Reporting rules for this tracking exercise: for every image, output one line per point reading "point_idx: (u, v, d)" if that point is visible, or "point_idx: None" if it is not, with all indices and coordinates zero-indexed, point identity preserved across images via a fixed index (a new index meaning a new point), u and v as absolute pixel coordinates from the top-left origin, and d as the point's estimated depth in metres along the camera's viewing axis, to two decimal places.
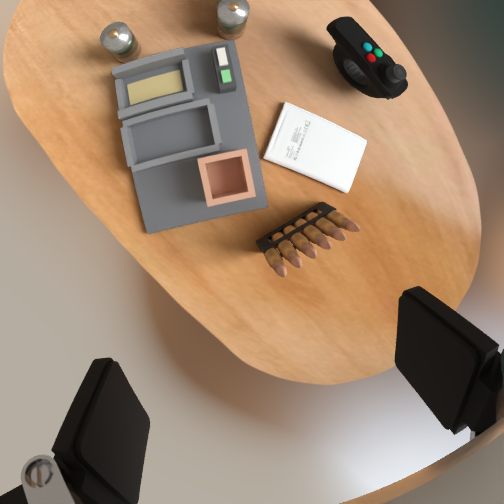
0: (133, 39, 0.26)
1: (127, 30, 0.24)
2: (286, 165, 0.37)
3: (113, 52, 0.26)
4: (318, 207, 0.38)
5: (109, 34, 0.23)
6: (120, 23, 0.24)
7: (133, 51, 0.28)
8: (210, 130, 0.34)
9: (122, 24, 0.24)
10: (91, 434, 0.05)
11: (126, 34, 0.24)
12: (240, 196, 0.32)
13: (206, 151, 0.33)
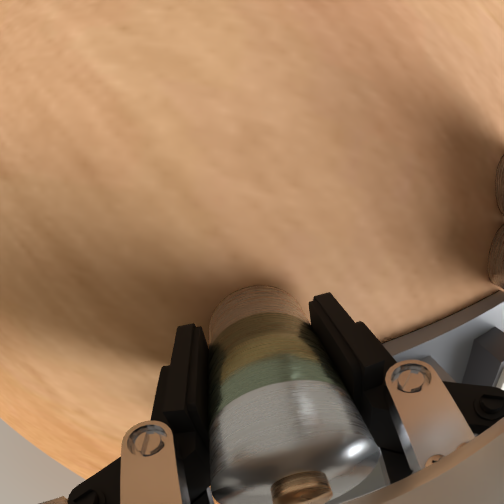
0: None
1: (373, 463, 0.05)
2: None
3: None
4: None
5: None
6: (342, 443, 0.04)
7: None
8: None
9: (353, 446, 0.04)
10: (199, 391, 0.06)
11: (364, 475, 0.05)
12: None
13: None
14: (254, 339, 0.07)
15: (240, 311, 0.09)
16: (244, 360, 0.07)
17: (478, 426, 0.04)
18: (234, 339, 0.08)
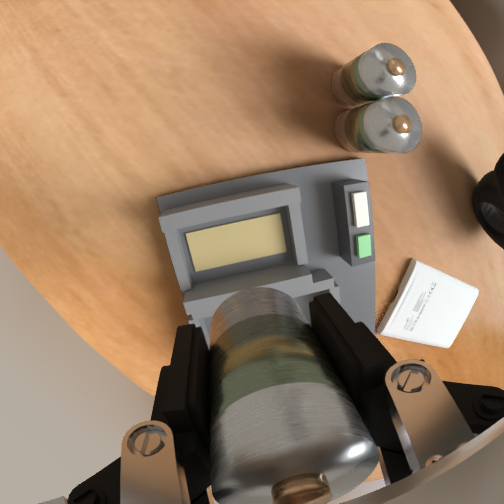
0: None
1: (372, 464, 0.05)
2: (401, 337, 0.27)
3: None
4: None
5: None
6: (342, 445, 0.04)
7: None
8: None
9: (353, 448, 0.04)
10: (198, 392, 0.06)
11: (363, 477, 0.05)
12: None
13: None
14: (254, 341, 0.07)
15: (240, 313, 0.09)
16: (245, 363, 0.07)
17: (478, 426, 0.04)
18: (234, 341, 0.08)
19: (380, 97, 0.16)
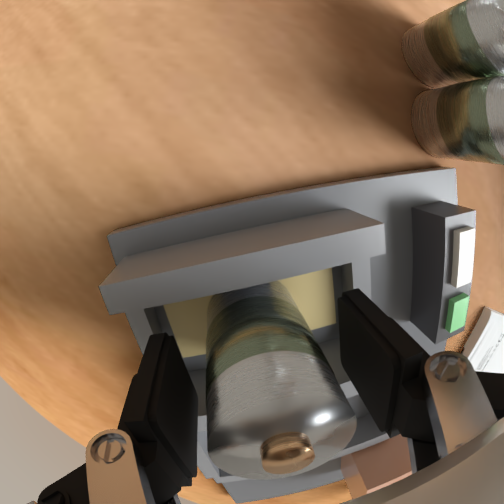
0: None
1: (351, 428, 0.06)
2: None
3: None
4: None
5: (271, 467, 0.05)
6: (319, 404, 0.05)
7: None
8: None
9: (330, 408, 0.06)
10: (162, 402, 0.06)
11: (345, 442, 0.06)
12: None
13: (369, 445, 0.14)
14: (245, 318, 0.08)
15: (234, 296, 0.10)
16: (237, 336, 0.08)
17: None
18: (228, 319, 0.09)
19: (498, 72, 0.07)
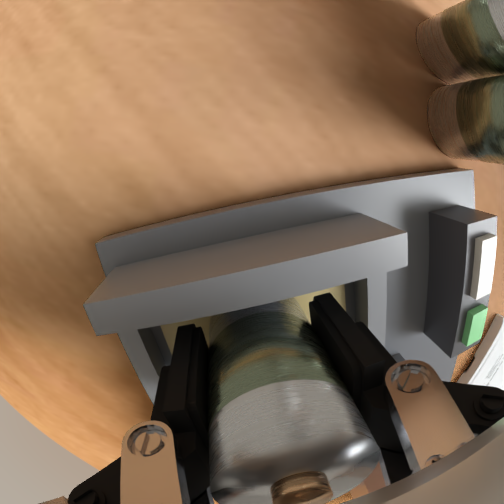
0: None
1: (374, 462, 0.05)
2: None
3: None
4: None
5: None
6: (341, 443, 0.04)
7: None
8: None
9: (353, 445, 0.04)
10: (199, 391, 0.06)
11: (365, 475, 0.05)
12: None
13: None
14: (252, 339, 0.07)
15: (238, 311, 0.09)
16: (242, 361, 0.07)
17: (478, 426, 0.04)
18: (232, 339, 0.08)
19: None
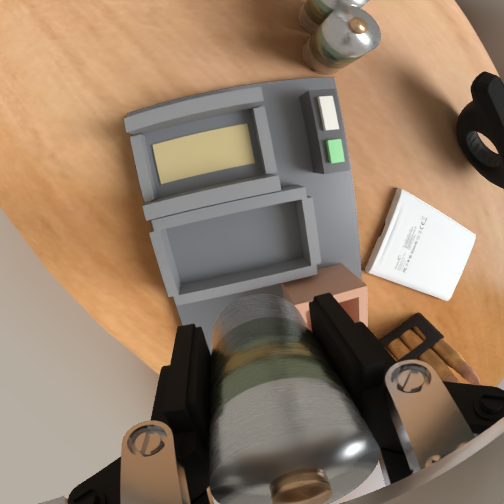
0: None
1: (373, 460, 0.05)
2: (393, 279, 0.26)
3: None
4: (416, 324, 0.27)
5: None
6: (339, 437, 0.04)
7: None
8: (297, 233, 0.23)
9: (351, 440, 0.04)
10: (198, 391, 0.06)
11: (365, 475, 0.05)
12: None
13: (297, 276, 0.22)
14: (253, 341, 0.07)
15: (240, 317, 0.09)
16: (243, 361, 0.07)
17: (478, 426, 0.04)
18: (234, 343, 0.08)
19: None
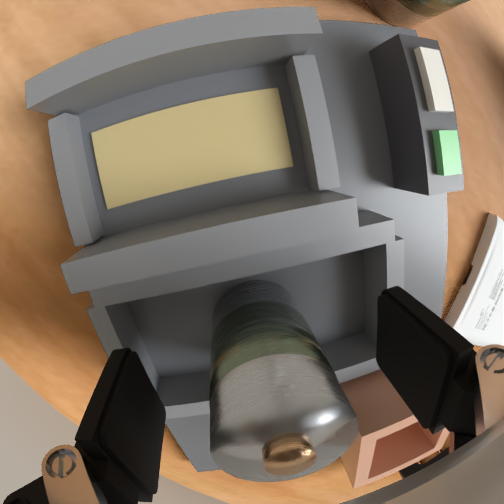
0: None
1: (353, 430, 0.06)
2: (470, 341, 0.15)
3: None
4: None
5: (273, 468, 0.05)
6: (320, 405, 0.05)
7: None
8: (361, 295, 0.12)
9: (331, 409, 0.06)
10: (115, 422, 0.06)
11: (347, 444, 0.06)
12: (418, 458, 0.11)
13: (360, 372, 0.11)
14: (249, 322, 0.09)
15: (238, 301, 0.10)
16: (240, 340, 0.08)
17: None
18: (232, 324, 0.09)
19: None
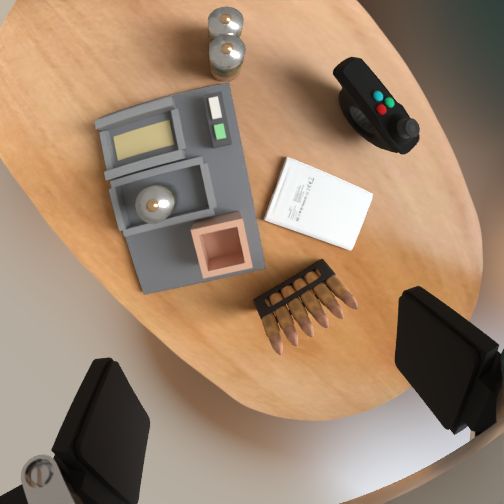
0: (175, 201, 0.29)
1: (169, 201, 0.27)
2: (288, 227, 0.36)
3: None
4: (317, 267, 0.38)
5: (148, 207, 0.26)
6: (158, 189, 0.26)
7: (174, 208, 0.31)
8: (204, 189, 0.33)
9: (161, 191, 0.27)
10: (91, 434, 0.05)
11: (169, 207, 0.27)
12: (236, 268, 0.32)
13: (200, 216, 0.32)
14: None
15: None
16: None
17: None
18: None
19: None
